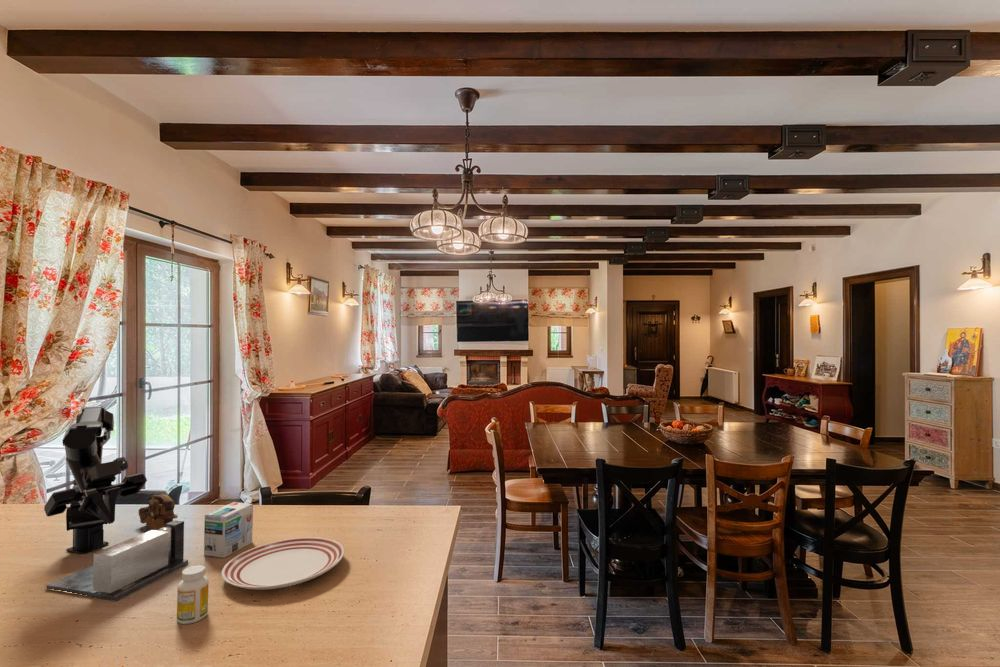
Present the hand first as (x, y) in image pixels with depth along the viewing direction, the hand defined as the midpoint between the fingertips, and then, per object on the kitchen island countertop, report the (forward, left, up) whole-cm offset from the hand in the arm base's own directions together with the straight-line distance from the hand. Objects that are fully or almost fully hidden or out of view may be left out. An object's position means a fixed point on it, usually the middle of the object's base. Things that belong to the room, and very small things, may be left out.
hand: (112, 522), depth 113 cm
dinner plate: (+36, +14, -14) cm, 41 cm away
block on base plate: (0, +2, -13) cm, 14 cm away
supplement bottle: (+31, -8, -14) cm, 35 cm away
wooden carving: (-18, +27, -14) cm, 35 cm away
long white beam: (+6, +1, -12) cm, 14 cm away
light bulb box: (+13, +21, -14) cm, 28 cm away
